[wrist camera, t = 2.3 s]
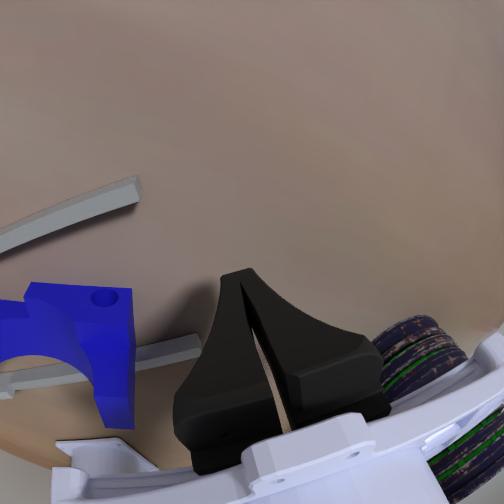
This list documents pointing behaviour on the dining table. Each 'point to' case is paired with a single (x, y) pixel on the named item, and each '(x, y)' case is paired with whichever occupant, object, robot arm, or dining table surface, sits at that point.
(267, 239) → the dining table surface
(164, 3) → the dining table surface
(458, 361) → the storage jar
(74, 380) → the grey u-shaped frame
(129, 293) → the blue arched bracket
